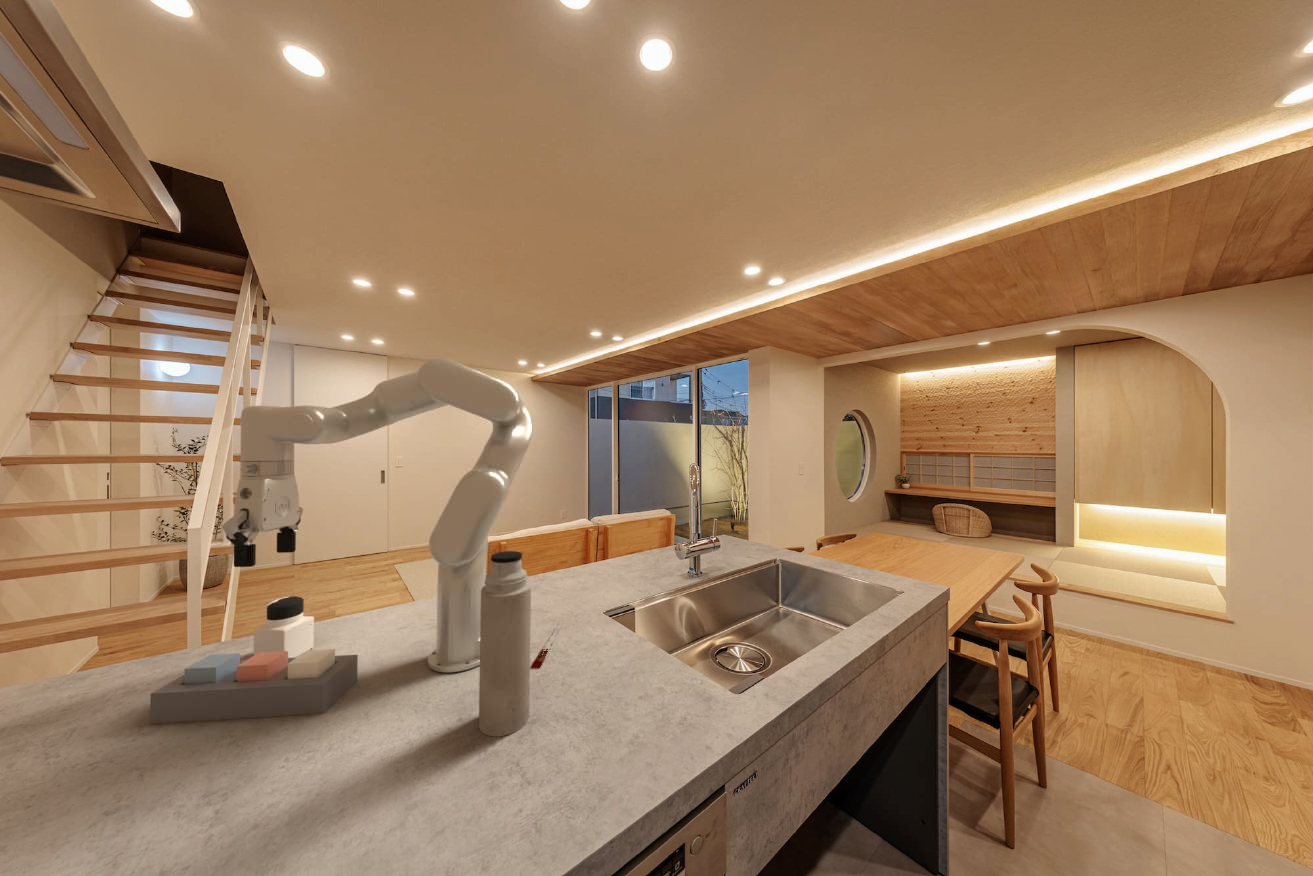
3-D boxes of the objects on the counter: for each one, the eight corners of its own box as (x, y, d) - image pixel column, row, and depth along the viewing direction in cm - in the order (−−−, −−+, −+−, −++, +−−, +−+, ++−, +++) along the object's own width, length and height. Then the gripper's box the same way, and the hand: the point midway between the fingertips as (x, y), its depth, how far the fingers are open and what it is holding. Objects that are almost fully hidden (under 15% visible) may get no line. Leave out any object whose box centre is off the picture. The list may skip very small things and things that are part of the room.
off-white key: (334, 667, 79) (334, 649, 79) (317, 682, 75) (317, 662, 75) (306, 669, 79) (306, 650, 79) (287, 683, 74) (287, 663, 74)
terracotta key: (287, 670, 78) (288, 651, 78) (267, 684, 74) (267, 664, 74) (259, 671, 78) (259, 652, 78) (236, 686, 73) (236, 666, 73)
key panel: (357, 680, 82) (357, 654, 82) (323, 713, 72) (323, 684, 72) (207, 688, 79) (207, 661, 79) (150, 724, 69) (150, 693, 69)
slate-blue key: (239, 672, 77) (240, 653, 77) (215, 687, 73) (216, 667, 73) (210, 673, 77) (210, 654, 77) (184, 689, 72) (184, 668, 72)
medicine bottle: (314, 648, 95) (315, 594, 95) (283, 664, 88) (284, 606, 88) (285, 646, 96) (286, 592, 96) (252, 662, 88) (253, 605, 88)
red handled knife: (565, 621, 111) (565, 617, 111) (540, 670, 87) (540, 666, 87) (557, 621, 111) (557, 617, 111) (530, 670, 87) (530, 665, 87)
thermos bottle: (500, 701, 76) (503, 545, 76) (538, 711, 74) (540, 550, 74) (467, 729, 69) (470, 557, 69) (508, 741, 66) (511, 562, 66)
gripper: (250, 473, 74) (249, 572, 73) (319, 467, 91) (318, 547, 91) (202, 473, 73) (201, 573, 73) (281, 467, 90) (280, 547, 90)
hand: (266, 558), depth 82 cm, fingers open, 9 cm apart
